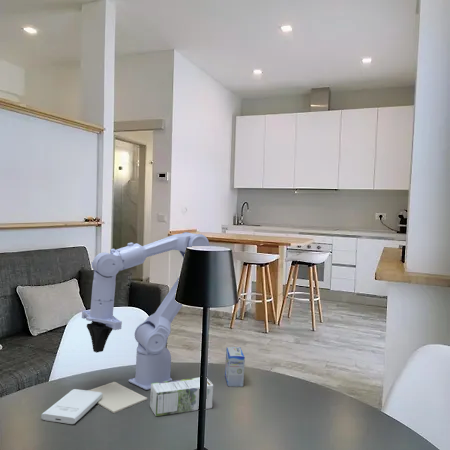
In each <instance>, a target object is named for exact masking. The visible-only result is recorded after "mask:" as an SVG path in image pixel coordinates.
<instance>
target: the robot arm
mask: <svg viewBox="0 0 450 450" xmlns="http://www.w3.org/2000/svg"><path fill="white" fill-rule="evenodd" d="M192 246H210V247H211V245H210V242H209V239H208V238H207V236H205V234H202V233H201V234H200V233H191V232H188V231H185V232H182V233H176V234H172V235H169V236H166V237H164V238H162V239H159V240H156V241H152V242H150V243H147V244H144V245H141V244H140V243H134V242H128V243H127V245H126V246H124V247H123V246H122V247H120V248H116V249H115V248H111V249H110V250H109V251H110V252H106V251H105V252H99V253H98V254H96V256H94V258H93V261H92V262H91V267H92V269H93V280H92V285H91V286H92V288H91V298H90V299H91V300H90V308H89V309H87V310H82V312H81V319H84V320H85V321H88V322H90V323H87V324H86V328H87V330H88V333H89V335H90V339H91V343H92V349H93V352H94V353H101V352H104V349H105V347H106V343H107V340H108V339H109V336H110V335H111V333H112V331H118V330H121V329H122V324H123V321H122V320H119V319H118V318H117V317H116V316H114V306H115V295H116V293H115V292H116V283H117V282H116V279H117V278H116V277H117V274H119V272H121V271H124V270H128V269H130V268H133V267H136V266H139V265H142V264H144V263H145V261H146V259H147V258H148V257H152V256H156V255H159V254H163V253H166V252H170V251H178V252H179V253H180V255H181V256H182V258H183V259H184V254H185V250H186V248H187V247H192ZM178 280H179V277H178V278H177V279H176V281H175V282H174V284H173V285H172V287H171V288H170V289H169V291H168V293H167V294H166V296H165V297H164V299H163V300H162V302H161V303H160V305H159V306H158V307H157V309H156V311H154V313H152V314H151V315H149V316H148V317H147V318H146V319H144V320H145V321H143V322H142V323H140V324H139V325H138V326H137V327H136V328H135V331H134V339H135V342H137V348H136V359H135V360H136V361H135V362H136V363H135V377H133V378H129V379H128V382H129V383H131V384H133V385H135V386H137V387H139V388H141V389H143V390H145V391H148V390H151V383H157V382H166V381H173V378H172V377H171V372H172V371H171V370H172V355H171V352H170V350H169V349H168V348H167V347H166V346H167V344H168V343H167V342H168V337H169V336H170V335H171V332H172V330H171V329H172V328H171V327H172V326H171V324H172V322H173V321H174V319H175V317H176V316H177V315H178V313H179V312H180V310H181V308H182V307H183V305H182V304H179V303H177V302H176V301H175V293H176V289H177V285H178Z"/></svg>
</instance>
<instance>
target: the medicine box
mask: <svg viewBox="0 0 450 450" xmlns="http://www.w3.org/2000/svg"><path fill="white" fill-rule="evenodd" d="M225 351H226V353H225V368H224V376H225V381H226V384H227V387H229V388H230V387H237V388H238V387H240V388H242V387H244V380H245V361H246V360H245V359H246V358H245V355H244V353H243V350H242V348H241V347H238V346H226V350H225Z"/></svg>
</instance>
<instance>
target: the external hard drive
mask: <svg viewBox="0 0 450 450" xmlns="http://www.w3.org/2000/svg"><path fill="white" fill-rule="evenodd" d="M102 396H103V394H102V393H101V392H94V391H88V390H86V389H78V388H74V389H71V390H70V391H69V392H67V393H66V394H65V395H64V396H63V397H62V398H60V399H59V400H58V401H56V402H55V403H54V404H53V405H51V406H50V407H49V408H48V409H46V410H45V411H44V412H42V413H41V415H40V416H41V420H43V421H48V422H54V423H59V424H60V423H62V424H68V425H75V424H76V423H77V422H78V421H80V419H82V417H84V416H85V415H86V414H87V413H88V412H89V411H90V410H91V409H92V408H93V407H94V406H95V405H96V404H97V402H98V401H99V400H100V399H102Z"/></svg>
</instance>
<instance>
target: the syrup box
mask: <svg viewBox="0 0 450 450" xmlns="http://www.w3.org/2000/svg"><path fill="white" fill-rule="evenodd" d="M199 389H200V377H192V378H191V377H190V378H184V379H177V380H172V381H166V382H157V383H151V389H150V401H149V407H150V409H151V412H152V413H153V414H154V416H155V417H160V416H165V415H166V416H167V415H174V414H181V413H188V412H194V411H199V410H198V406H199ZM213 393H214V384H213V383H212V381H211V380H210V379H209V378H207V399H206V409H205V410H207V409H212V408H213V397H214V396H213V395H214V394H213Z"/></svg>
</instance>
